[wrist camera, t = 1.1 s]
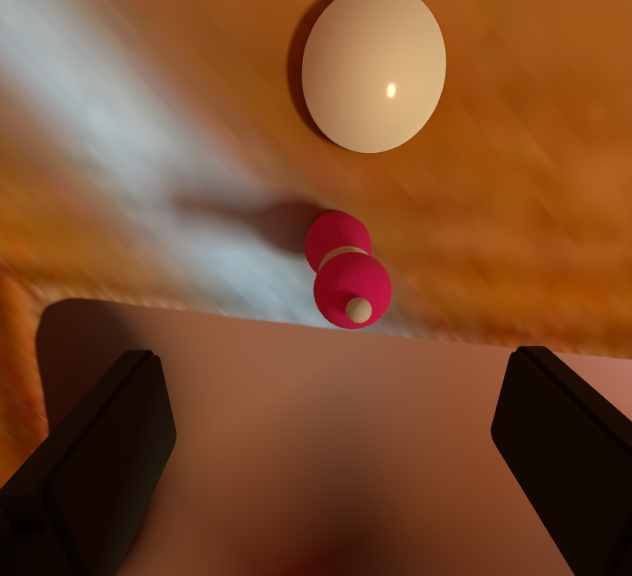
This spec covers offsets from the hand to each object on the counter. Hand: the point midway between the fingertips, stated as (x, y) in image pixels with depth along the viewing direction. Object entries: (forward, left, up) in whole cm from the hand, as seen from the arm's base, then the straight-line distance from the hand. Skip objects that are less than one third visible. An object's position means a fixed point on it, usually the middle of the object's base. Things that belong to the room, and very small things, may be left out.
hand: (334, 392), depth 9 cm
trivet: (+7, +11, -32) cm, 35 cm away
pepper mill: (+2, -5, -33) cm, 33 cm away
